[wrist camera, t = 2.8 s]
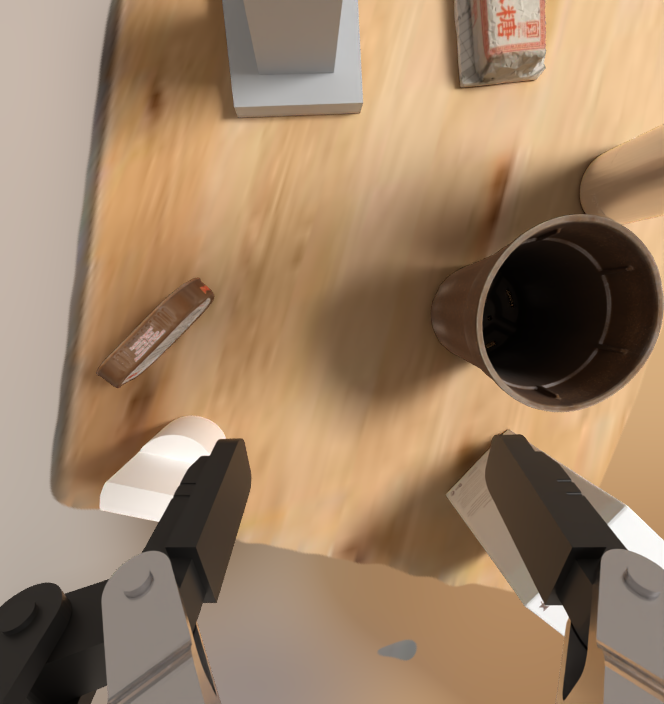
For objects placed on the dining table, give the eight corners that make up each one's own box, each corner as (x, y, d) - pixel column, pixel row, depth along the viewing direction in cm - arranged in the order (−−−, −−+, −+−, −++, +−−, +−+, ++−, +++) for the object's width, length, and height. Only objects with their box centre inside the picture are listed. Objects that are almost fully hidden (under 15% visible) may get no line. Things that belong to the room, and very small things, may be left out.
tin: (207, 277, 39) (180, 272, 31) (226, 296, 40) (205, 296, 32) (122, 363, 40) (75, 379, 32) (143, 380, 41) (101, 401, 32)
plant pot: (391, 288, 41) (444, 281, 25) (501, 222, 41) (625, 173, 25) (447, 392, 44) (527, 445, 28) (551, 332, 44) (689, 351, 28)
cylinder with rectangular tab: (151, 471, 43) (91, 537, 31) (165, 408, 41) (108, 451, 30) (219, 485, 44) (186, 555, 32) (235, 424, 43) (207, 473, 31)
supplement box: (503, 544, 49) (611, 678, 32) (443, 494, 47) (523, 608, 29) (566, 480, 48) (712, 582, 31) (507, 426, 46) (629, 504, 28)
